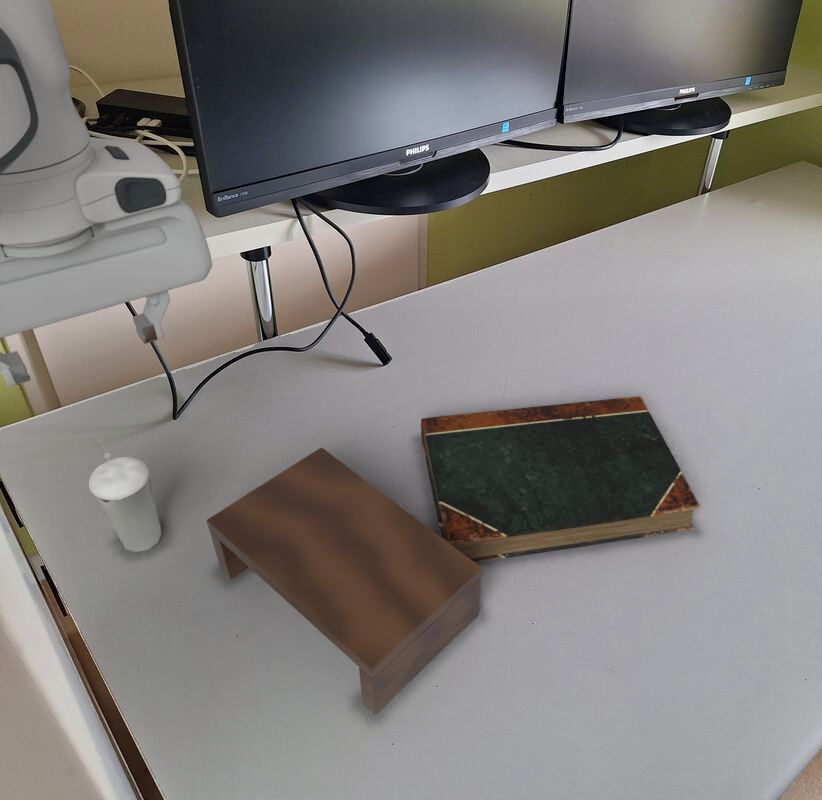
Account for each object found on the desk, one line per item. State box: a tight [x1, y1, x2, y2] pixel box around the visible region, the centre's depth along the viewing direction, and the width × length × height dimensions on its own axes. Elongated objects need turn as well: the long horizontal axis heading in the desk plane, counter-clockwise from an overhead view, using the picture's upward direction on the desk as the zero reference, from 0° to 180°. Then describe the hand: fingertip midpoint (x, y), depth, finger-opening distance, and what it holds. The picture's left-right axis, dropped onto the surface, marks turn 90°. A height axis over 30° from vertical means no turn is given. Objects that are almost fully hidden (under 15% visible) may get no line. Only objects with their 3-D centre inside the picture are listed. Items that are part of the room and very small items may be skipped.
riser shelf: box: [206, 446, 483, 715], centre depth 65 cm, size 12×20×7 cm, turn 52°
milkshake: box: [88, 439, 163, 553], centre depth 66 cm, size 4×5×10 cm
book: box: [420, 395, 701, 563], centre depth 78 cm, size 17×4×25 cm
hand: (87, 357), depth 58 cm, fingers open, 8 cm apart
